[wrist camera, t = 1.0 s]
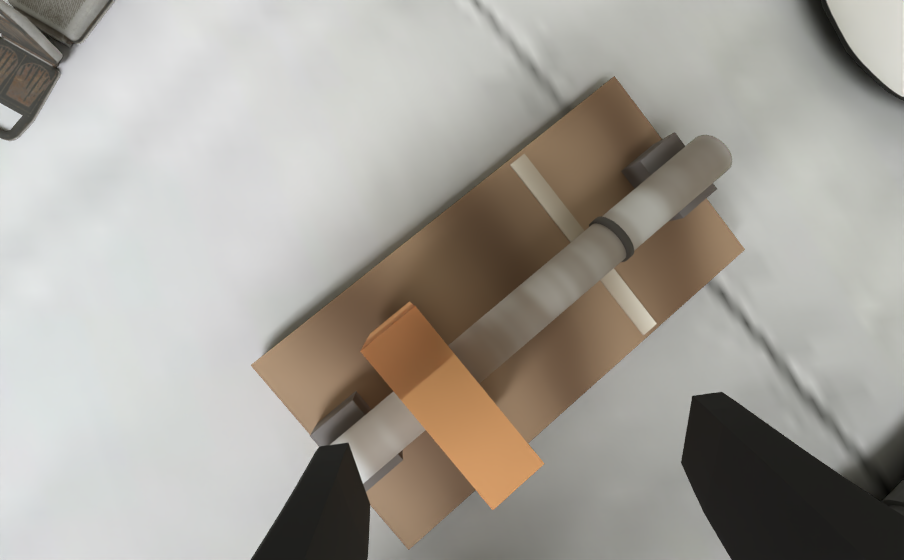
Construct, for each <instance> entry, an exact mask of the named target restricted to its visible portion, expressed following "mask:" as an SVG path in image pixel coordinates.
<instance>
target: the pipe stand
mask: <svg viewBox="0 0 904 560" xmlns="http://www.w3.org/2000/svg"><path fill="white" fill-rule="evenodd" d="M731 165H732V156H731V153H730V151H729V149H728V148H727V146H726V145H725V144H724V143H723V142H722V141H720V140H719V139H717V138H715V137H713V136H709V135H701V136H698V137H696V138H695V139H694V140H692V141H691V142H690V143H689V144H688V145H686V146H685V145H684V144H683V143H682V141H681V140H680V139H679V137H678V136H677V135H676V133H673V134H671V135H669V136H667V137H666V138H664V139H661V137H660V136H659V135H658V133H657V132H656V131H655V129H654V128H653V127H652V125H651V124H650V123H649V121H648V120H647V119H646V117H645V116H644V115H643V113H642V112H641V111H640V109H639V108H638V107H637V105H636V104H635V103H634V101H633V100H632V99H631V97H630V96H629V95H628V93H627V92H626V91H625V89H624V88H623V87H622V85H621V84H620V83H619V81H618V80H617V79H616V77H615V76H614V77H613V78H611V79H610V80H609V81H608V82H606V83H605V84H604V85H603V86H601V87H600V88H599V89H598V90H596V91H595V92H594V93H593V94H591V95H590V96H589V97H588V98H586V99H585V100H584V101H583V102H581V103H580V104H579V105H577V106H576V107H575V108H574V109H572V110H571V111H570V112H569V113H567V114H566V115H565V116H564V117H562V118H561V119H560V120H559V121H557V122H556V123H555V124H554V125H552V126H551V127H550V128H549V129H547V130H546V131H545V132H544V133H542V134H541V135H540V136H539V137H537V138H536V139H535V140H533V141H532V142H531V143H530V144H528V145H527V146H526V147H525V148H523V149H522V150H521V151H520V152H518V153H517V154H516V155H515V156H513V157H512V158H511V159H510V160H508V161H507V162H506V163H505V164H503V165H502V166H501V167H500V168H498V169H497V170H496V171H494V172H493V173H492V174H491V175H489V176H488V177H487V178H486V179H484V180H483V181H482V182H481V183H479V184H478V185H477V186H476V187H474V188H473V189H472V190H471V191H469V192H468V193H467V194H466V195H464V196H463V197H462V198H461V199H459V200H458V201H457V202H455V203H454V204H453V205H452V206H450V207H449V208H448V209H447V210H445V211H444V212H443V213H442V214H440V215H439V216H438V217H437V218H435V219H434V220H433V221H432V222H430V223H429V224H428V225H427V226H425V227H424V228H423V229H422V230H420V231H419V232H418V233H417V234H415V235H414V236H413V237H411V238H410V239H409V240H408V241H406V242H405V243H404V244H403V245H401V246H400V247H399V248H398V249H396V250H395V251H394V252H393V253H391V254H390V255H389V256H388V257H386V258H385V259H384V260H383V261H381V262H380V263H379V264H378V265H376V266H375V267H374V268H372V269H371V270H370V271H369V272H367V273H366V274H365V275H364V276H362V277H361V278H360V279H359V280H357V281H356V282H355V283H354V284H352V285H351V286H350V287H349V288H347V289H346V290H345V291H344V292H342V293H341V294H340V295H339V296H337V297H336V298H335V299H334V300H332V301H331V302H330V303H328V304H327V305H326V306H325V307H323V308H322V309H321V310H320V311H318V312H317V313H316V314H315V315H313V316H312V317H311V318H310V319H308V320H307V321H306V322H305V323H303V324H302V325H301V326H300V327H298V328H297V329H296V330H295V331H293V332H292V333H291V334H289V335H288V336H287V337H286V338H284V339H283V340H282V341H281V342H279V343H278V344H277V345H276V346H274V347H273V348H272V349H271V350H269V351H268V352H267V353H266V354H264V355H263V356H262V357H261V358H259V359H258V360H257V361H256V362H254V363H253V364H252V365H251V366H252V367H253V369H254V370H255V371H256V372H257V373H258V374H259V376H260V377H261V378H262V379H263V380H264V381H265V383H266V384H267V385H268V386H269V387H270V388H271V390H272V391H273V392H274V393H275V394H276V395H277V397H278V398H279V399H280V400H281V401H282V402H283V404H284V405H285V406H286V407H287V408H288V409H289V411H290V412H291V413H292V414H293V415H294V416H295V418H296V419H297V420H298V421H299V422H300V423H301V425H302V426H303V427H304V428H305V429H306V430H307V432H308V433H309V434H310V436H311V438H312V439H313V440H314V441H315V442H316V443H317V445H318V446H319V447H320V446H326V445H334V444H341V443H349V445H350V448H351V451H352V454H353V457H354V460H355V462H356V465H357V468H358V471H359V474H360V477H361V479H362V482H363V485H364V488H365V491H366V494H367V496H368V499H369V502H370V505H371V506H372V508H373V509H374V510H375V511H376V512H377V513H378V515H379V516H380V517H381V518H382V519H383V520H384V522H385V523H386V524H387V525H388V526H389V527H390V529H391V530H392V531H393V532H394V533H395V534H396V536H397V537H398V538H399V539H400V540H401V541H402V543H403V544H404V545H405V546H406V547H407V548H408V550H409V549H410V548H411V547H413V546H414V545H415V544H416V543H417V542H418V541H419V540H420V539H421V538H423V537H424V536H425V535H426V534H427V533H428V532H429V531H430V530H432V529H433V528H434V527H435V526H436V525H437V524H438V523H439V522H441V521H442V520H443V519H444V518H445V517H446V516H447V515H448V514H449V513H451V512H452V511H453V510H454V509H455V508H456V507H457V506H458V505H460V504H461V503H462V502H463V501H464V500H465V499H466V498H467V497H468V496H470V495H471V494H472V493H473V492H474V491H475V488H474V487H473V486H472V485H471V484H470V482H469V481H468V480H467V479H466V478H465V476H464V475H463V474H462V473H461V472H460V470H459V469H458V468H457V467H456V466H455V464H454V463H453V462H452V461H451V460H450V458H449V457H448V456H447V455H446V454H445V452H444V451H443V450H442V449H441V448H440V446H439V445H438V444H437V443H436V442H435V441H434V439H433V438H432V437H431V436H430V435H429V433H428V432H427V431H426V430H425V429H424V427H423V426H422V425H421V424H420V423H419V421H418V420H417V419H416V418H415V417H414V415H413V414H412V413H411V412H410V411H409V409H408V408H407V407H406V406H405V405H404V403H403V402H402V401H401V400H400V399H399V397H398V396H397V395H396V394H395V393H394V391H393V390H392V389H391V388H390V387H389V385H388V384H387V383H386V382H385V381H384V379H383V378H382V377H381V376H380V375H379V373H378V372H377V371H376V370H375V369H374V367H373V366H372V365H371V364H370V363H369V361H368V360H367V359H366V358H365V357H364V355H363V354H362V353H361V352H360V351H361V349H362V347H363V345H364V343H365V342H366V340H367V338H368V336H369V335H370V333H371V332H372V331H374V330H375V329H376V328H377V327H379V326H380V325H381V324H382V323H384V322H385V321H386V320H387V319H388V318H390V317H391V316H392V315H393V314H395V313H396V312H397V311H398V310H399V309H401V308H402V307H403V306H404V305H406V304H407V303H408V302H409V301H410V302H411V303H412V304H413V305H415V306H416V307H417V308H418V310H419V311H420V312H421V313H422V315H423V316H424V317H425V318H426V320H427V321H428V322H429V323H430V324H431V326H432V327H433V328H434V329H435V331H436V332H437V333H438V334H439V335H440V337H441V338H442V339H443V340H444V342H445V343H446V344H447V345H448V346H449V348H450V349H451V350H452V351H453V353H454V354H455V355H456V356H457V357H458V359H459V360H460V361H461V362H462V364H463V365H464V366H465V367H466V368H467V370H468V371H469V372H470V373H471V375H472V376H473V377H474V378H475V379H476V381H477V382H478V383H479V384H480V386H481V387H482V388H483V389H484V390H485V392H486V393H487V394H488V395H489V397H490V398H491V399H492V400H493V401H494V403H495V404H496V405H497V406H498V408H499V409H500V410H501V411H502V412H503V414H504V415H505V416H506V417H507V419H508V420H509V421H510V422H511V423H512V425H513V426H514V427H515V428H516V430H517V431H518V432H519V433H520V434H521V436H522V437H523V438H524V439H525V441H526V442H527V443H529V442H530V441H531V440H532V439H533V438H535V437H536V436H537V435H538V434H539V433H540V432H541V431H542V430H543V429H545V428H546V427H547V426H548V425H549V424H550V423H551V422H552V421H554V420H555V419H556V418H557V417H558V416H559V415H560V414H561V413H563V412H564V411H565V410H566V409H567V408H568V407H569V406H570V405H571V404H573V403H574V402H575V401H576V400H577V399H578V398H579V397H580V396H582V395H583V394H584V393H585V392H586V391H587V390H588V389H589V388H591V387H592V386H593V385H594V384H595V383H596V382H597V381H598V380H599V379H601V378H602V377H603V376H604V375H605V374H606V373H607V372H608V371H610V370H611V369H612V368H613V367H614V366H615V365H616V364H617V363H618V362H620V361H621V360H622V359H623V358H624V357H625V356H626V355H627V354H629V353H630V352H631V351H632V350H633V349H634V348H635V347H636V346H638V345H639V344H640V343H641V342H642V341H643V340H644V339H645V338H646V337H648V336H649V335H650V334H651V333H652V332H653V331H654V330H655V329H657V328H658V327H659V326H660V325H661V324H662V323H663V322H664V321H666V320H667V319H668V318H669V317H670V316H671V315H672V314H673V313H674V312H676V311H677V310H678V309H679V308H680V307H681V306H682V305H683V304H685V303H686V302H687V301H688V300H689V299H690V298H691V297H692V296H694V295H695V294H696V293H697V292H698V291H699V290H700V289H701V288H702V287H704V286H705V285H706V284H707V283H708V282H709V281H710V280H711V279H713V278H714V277H715V276H716V275H717V274H718V273H719V272H720V271H721V270H723V269H724V268H725V267H726V266H727V265H728V264H729V263H730V262H732V261H733V260H734V259H735V258H736V257H737V256H738V255H739V254H741V253H742V252H743V251H744V250H745V249H744V248H743V246H742V245H741V244H740V242H739V241H738V240H737V238H736V237H735V236H734V234H733V233H732V232H731V230H730V229H729V228H728V226H727V225H726V224H725V222H724V221H723V220H722V218H721V217H720V216H719V214H718V213H717V212H716V210H715V209H714V208H713V206H712V205H711V204H710V202H709V201H708V200H707V197H708V196H710V195H711V194H712V193H713V192H714V191H715V190H716V189H717V188H716V187H715V185H714V184H713V182H715V181H716V180H717V179H718V178H719V177H720V176H722V175H723V174H724V173H725V172H726V171H727V170H728V169H729V168H730V167H731Z"/></svg>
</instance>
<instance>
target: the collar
mask: <svg viewBox="0 0 904 560" xmlns="http://www.w3.org/2000/svg"><path fill="white" fill-rule="evenodd" d="M360 352H361V353H362V354H363V355H364V357H365V358H366V359H367V360H368V361H369V363H370V364H371V365H372V366H373V367H374V369H375V370H376V371H377V372H378V373H379V375H380V376H381V377H382V378H383V379H384V381H385V382H386V383H387V384H388V385H389V387H390V388H391V389H392V390H393V391H394V393H395V394H396V395H397V396H398V397H399V399H400V400H401V401H402V402H403V403H404V405H405V406H406V407H407V408H408V409H409V411H410V412H411V413H412V414H413V415H414V417H415V418H416V419H417V420H418V421H419V423H420V424H421V425H422V426H423V427H424V429H425V430H426V431H427V432H428V433H429V435H430V436H431V437H432V438H433V439H434V441H435V442H436V443H437V444H438V445H439V446H440V448H441V449H442V450H443V451H444V452H445V454H446V455H447V456H448V457H449V458H450V460H451V461H452V462H453V463H454V464H455V466H456V467H457V468H458V469H459V470H460V472H461V473H462V474H463V475H464V476H465V478H466V479H467V480H468V481H469V482H470V484H471V485H472V486H473V487H474V488H475V490H476V491H477V492H478V493H479V494H480V496H481V497H482V498H483V499H484V500H485V502H486V503H487V504H488V505H489V506H490V508H491V509H492V510H494V509H495V508H496V507H497V506H498V505H499V504H500V503H502V502H503V501H504V500H505V499H506V498H507V497H508V496H509V495H510V494H512V493H513V492H514V491H515V490H516V489H517V488H518V487H519V486H520V485H521V484H523V483H524V482H525V481H526V480H527V479H528V478H529V477H530V476H531V475H533V474H534V473H535V472H536V471H537V470H538V469H539V468H540V467H541V466H542V465H544V463H543V461H542V460H541V459H540V458H539V456H538V455H537V454H536V453H535V452H534V450H533V449H532V448H531V447H530V445H529V444H528V443H527V442H526V441H525V439H524V438H523V437H522V436H521V434H520V433H519V432H518V431H517V430H516V428H515V427H514V426H513V425H512V423H511V422H510V421H509V420H508V419H507V417H506V416H505V415H504V414H503V412H502V411H501V410H500V409H499V408H498V406H497V405H496V404H495V403H494V401H493V400H492V399H491V398H490V397H489V395H488V394H487V393H486V392H485V390H484V389H483V388H482V387H481V386H480V384H479V383H478V382H477V381H476V379H475V378H474V377H473V376H472V375H471V373H470V372H469V371H468V370H467V368H466V367H465V366H464V365H463V364H462V362H461V361H460V360H459V359H458V357H457V356H456V355H455V354H454V353H453V351H452V350H451V349H450V348H449V346H448V345H447V344H446V343H445V342H444V340H443V339H442V338H441V337H440V335H439V334H438V333H437V332H436V331H435V329H434V328H433V327H432V326H431V324H430V323H429V322H428V321H427V320H426V318H425V317H424V316H423V315H422V313H421V312H420V311H419V310H418V308H417V307H416V306H415V305H413V304H412V303H411V302H410V301H409V302H408V303H407V304H406V305H404V306H403V307H402V308H401V309H399V310H398V311H397V312H396V313H395V314H393V315H392V316H391V317H390V318H388V319H387V320H386V321H385V322H384V323H382V324H381V325H380V326H379V327H377V328H376V329H375V330H374V331H372V332H371V333H370V335H369V336H368V338H367V340H366V342H365V343H364V345H363V347H362V349H361V351H360Z"/></svg>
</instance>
